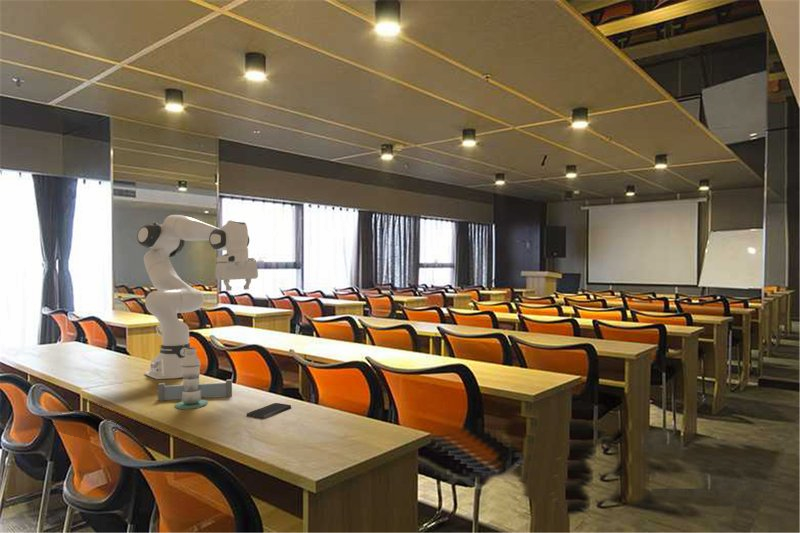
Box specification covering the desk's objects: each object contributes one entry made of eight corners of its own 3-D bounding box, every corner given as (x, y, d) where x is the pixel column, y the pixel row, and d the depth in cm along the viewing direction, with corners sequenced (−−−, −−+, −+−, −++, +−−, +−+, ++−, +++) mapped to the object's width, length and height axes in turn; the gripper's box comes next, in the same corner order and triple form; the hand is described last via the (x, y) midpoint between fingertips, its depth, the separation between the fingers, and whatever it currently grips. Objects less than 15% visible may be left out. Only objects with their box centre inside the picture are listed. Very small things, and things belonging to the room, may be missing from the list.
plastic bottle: (196, 406, 181) (195, 349, 181) (177, 406, 181) (177, 349, 181) (204, 401, 187) (204, 346, 187) (187, 400, 188) (186, 346, 188)
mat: (168, 406, 182) (168, 405, 182) (194, 399, 192) (194, 398, 192) (187, 411, 177) (187, 410, 177) (214, 403, 186) (214, 402, 186)
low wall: (158, 400, 190) (157, 384, 190) (159, 399, 192) (159, 383, 192) (231, 396, 196) (231, 380, 196) (232, 394, 198) (231, 379, 198)
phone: (292, 405, 181) (262, 417, 167) (292, 408, 181) (262, 420, 167) (275, 402, 184) (244, 413, 171) (275, 405, 184) (244, 417, 171)
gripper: (251, 257, 231) (251, 288, 231) (213, 257, 213) (213, 291, 213) (261, 257, 227) (261, 288, 227) (223, 257, 210) (223, 291, 210)
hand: (237, 290), depth 220 cm, fingers open, 8 cm apart
